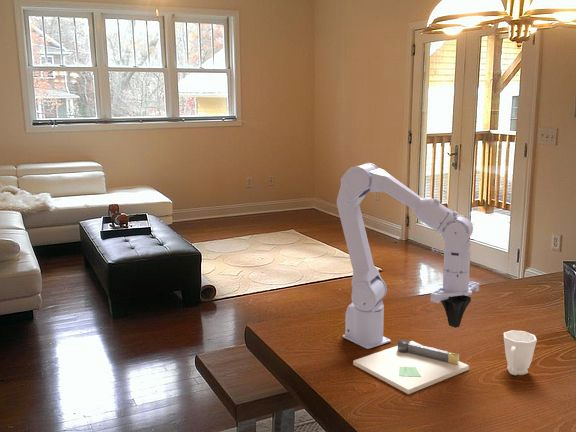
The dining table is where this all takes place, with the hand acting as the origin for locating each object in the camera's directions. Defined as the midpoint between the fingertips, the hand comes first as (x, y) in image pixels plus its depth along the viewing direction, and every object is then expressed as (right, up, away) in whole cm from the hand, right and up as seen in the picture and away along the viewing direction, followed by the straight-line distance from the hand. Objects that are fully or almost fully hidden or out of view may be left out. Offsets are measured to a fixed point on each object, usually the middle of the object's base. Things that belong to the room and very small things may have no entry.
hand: (454, 325), depth 135 cm
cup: (+11, -9, -8) cm, 16 cm away
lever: (-7, -7, -2) cm, 9 cm away
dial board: (-11, -8, -4) cm, 15 cm away
